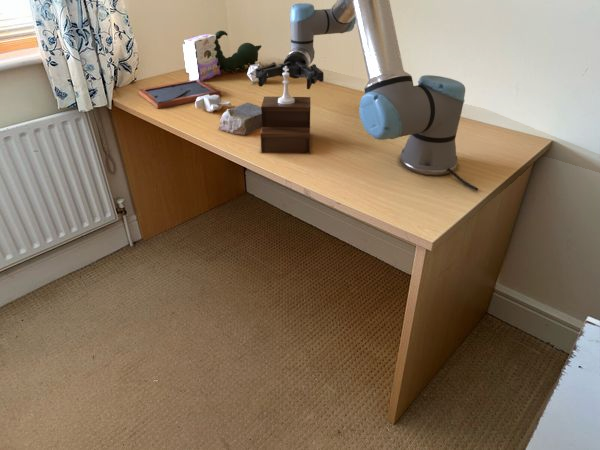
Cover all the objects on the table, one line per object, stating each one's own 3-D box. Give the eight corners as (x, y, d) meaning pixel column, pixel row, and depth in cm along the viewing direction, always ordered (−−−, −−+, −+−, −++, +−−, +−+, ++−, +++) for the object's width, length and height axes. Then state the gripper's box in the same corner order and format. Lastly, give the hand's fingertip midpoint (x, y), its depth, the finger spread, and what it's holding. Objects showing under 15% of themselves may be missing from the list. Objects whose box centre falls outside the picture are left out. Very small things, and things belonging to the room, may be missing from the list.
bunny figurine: (210, 90, 160) (233, 96, 150) (213, 104, 162) (235, 110, 152) (188, 96, 155) (210, 102, 145) (190, 110, 157) (212, 117, 147)
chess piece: (288, 105, 124) (288, 69, 118) (274, 102, 126) (273, 66, 120) (297, 100, 127) (297, 65, 122) (283, 97, 129) (283, 63, 124)
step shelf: (309, 153, 125) (310, 113, 119) (261, 152, 126) (259, 112, 119) (309, 134, 137) (310, 97, 130) (265, 133, 137) (264, 96, 130)
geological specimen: (273, 108, 142) (241, 119, 131) (272, 126, 145) (241, 138, 135) (248, 101, 147) (216, 111, 137) (249, 118, 150) (217, 129, 140)
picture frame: (157, 108, 156) (220, 95, 168) (156, 103, 155) (219, 90, 167) (139, 94, 169) (198, 83, 181) (138, 88, 168) (197, 78, 180)
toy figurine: (222, 81, 189) (269, 66, 201) (214, 35, 178) (264, 22, 189) (212, 76, 196) (258, 62, 207) (203, 31, 184) (252, 19, 195)
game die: (261, 92, 183) (266, 77, 174) (241, 85, 181) (246, 69, 173) (266, 76, 187) (271, 60, 178) (247, 69, 185) (251, 53, 176)
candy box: (210, 72, 194) (206, 33, 185) (220, 74, 192) (216, 34, 182) (189, 80, 184) (183, 39, 175) (199, 82, 182) (194, 41, 172)
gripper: (335, 77, 138) (328, 98, 121) (259, 73, 141) (241, 93, 124) (336, 52, 134) (329, 71, 117) (258, 49, 137) (239, 66, 120)
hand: (283, 83), depth 120 cm, fingers open, 13 cm apart
